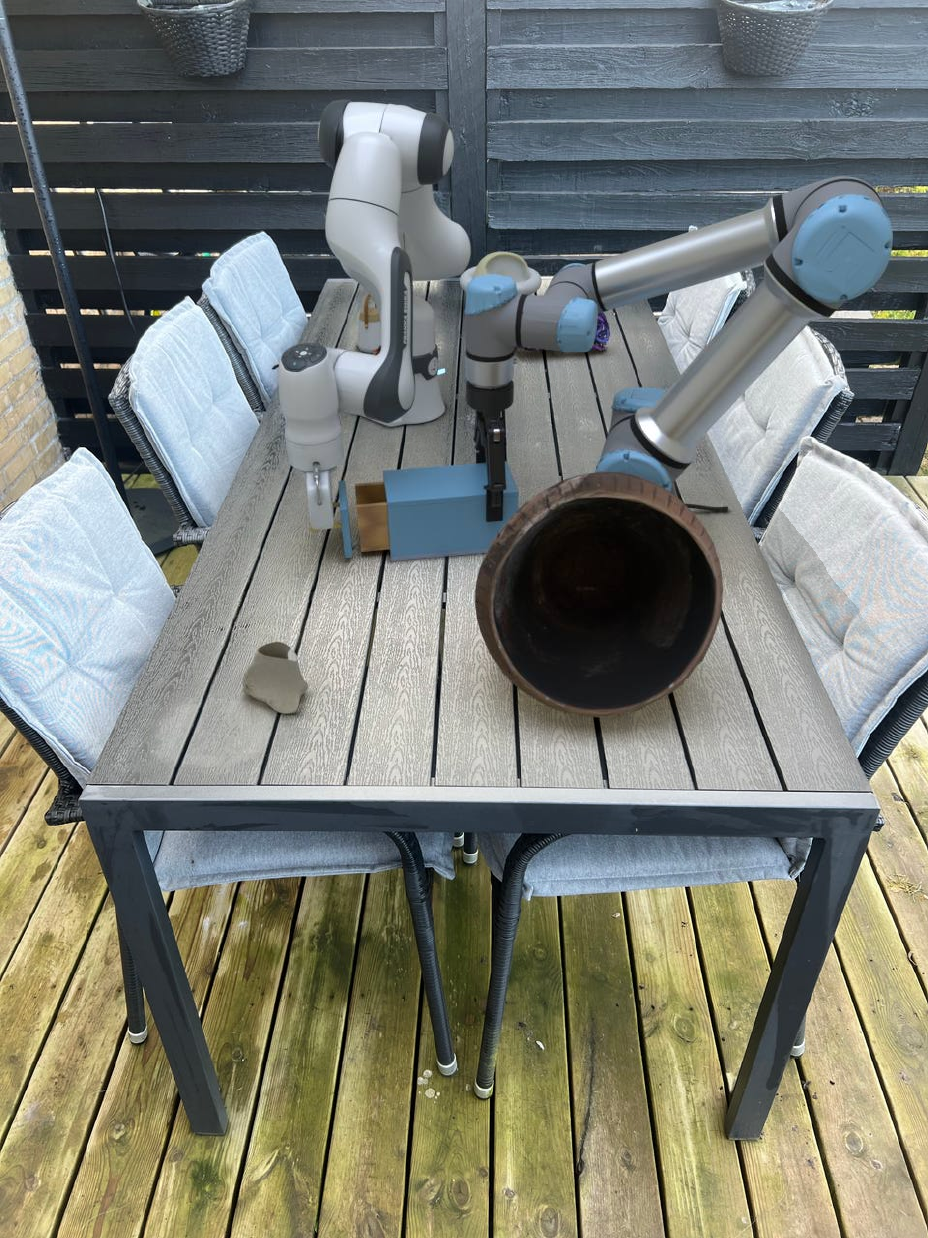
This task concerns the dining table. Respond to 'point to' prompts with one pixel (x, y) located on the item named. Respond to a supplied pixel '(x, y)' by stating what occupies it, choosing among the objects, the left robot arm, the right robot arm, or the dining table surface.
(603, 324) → the purple fibrous block
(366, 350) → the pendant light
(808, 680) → the dining table surface
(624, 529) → the pot
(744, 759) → the dining table surface
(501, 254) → the hat
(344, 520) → the drawer
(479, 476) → the blue open box
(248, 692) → the grey flared pouch
